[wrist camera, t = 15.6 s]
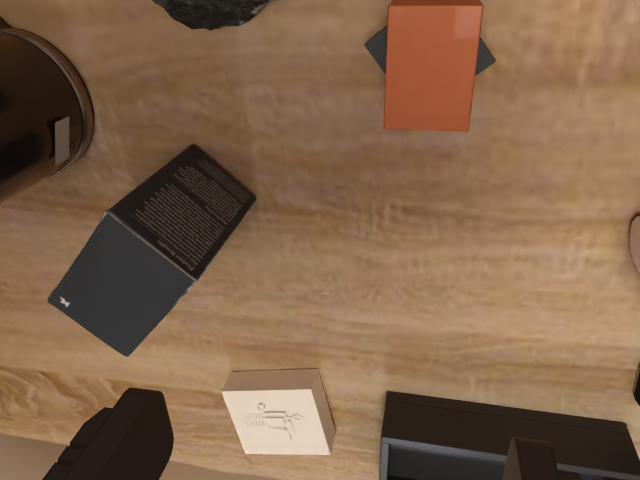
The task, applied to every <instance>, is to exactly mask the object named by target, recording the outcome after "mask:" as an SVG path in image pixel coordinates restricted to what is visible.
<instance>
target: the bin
mask: <svg viewBox="0 0 640 480" xmlns="http://www.w3.org/2000/svg"><path fill="white" fill-rule="evenodd" d="M512 437H517V438H525V439H533V440H541V441H548V442H550V443H551V445H552V448H553V451H554V456H555V460H556V464H557V469H558V470H561V471H568V472H576V473H579V475H580V476H581V478H582V479H583V480H640V460H639V458H638V455H637V452H636V450H635V447H634V444H633V442H632V439H631V437H630V434H629V432H628V429H627V426H626V424H625V423H619V422H612V421H604V420H597V419H589V418H582V417H575V416H567V415H560V414H552V413H545V412H537V411H530V410H522V409H515V408H508V407H500V406H493V405H485V404H478V403H470V402H463V401H456V400H448V399H441V398H433V397H426V396H418V395H411V394H403V393H396V392H389V391H388V392H387V396H386V403H385V411H384V419H383V427H382V435H381V451H380V471H379V480H503V475H504V470H505V465H506V460H507V455H508V450H509V445H510V441H511V438H512Z"/></svg>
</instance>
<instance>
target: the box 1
mask: <svg viewBox="0 0 640 480" xmlns="http://www.w3.org/2000/svg"><path fill="white" fill-rule="evenodd" d="M255 201H256V197H255V196H254V195H253V194H252V193H251V192H250V191H249V190H248V189H247V188H245V187H244V186H243V185H242V184H240V183H239V182H238V181H237V180H236V179H235V178H233V177H232V176H231V175H230V174H229V173H227V172H226V171H225V170H224V169H223V168H222V167H220V166H219V165H218V164H217V163H216V162H215V161H213V160H212V159H211V158H210V157H208V156H207V155H206V154H205V153H204V152H203V151H201V150H200V149H199V148H198V147H197V146H195V145H190V146H189V147H188V148H186V149H185V150H184V151H183V152H181V153H180V154H179V155H178V156H176V157H175V158H174V159H172V161H170V162H169V163H168V164H166V165H165V166H164V167H163V168H161V169H160V170H159V171H157V172H156V173H155V174H154V175H152V176H151V177H150V178H148V179H147V180H146V181H145V182H143V183H142V184H141V185H139V186H138V187H137V188H136V189H134V190H133V191H132V192H130V193H129V194H128V195H127V196H125V197H124V198H123V199H122V200H120V201H119V202H118V203H116V204H115V205H114V206H112V207H111V208H110V209H108V210H107V211H105V212H104V214H103V217H102V218H101V220H100V222H99V224H98V225H97V227H96V228H95V230H94V232H93V233H92V235H91V236H90V238H89V239H88V241H87V242H86V244H85V245H84V247H83V248H82V250H81V252H80V253H79V255H78V256H77V257H76V259H75V260H74V261H73V263H72V264H71V266H70V267H69V269H68V270H67V272H66V273H65V275H64V276H63V277H62V279H61V280H60V282H59V283H58V284H57V286H56V287H55V288H54V290H53V291H52V292H51V293H50V295H49V296H48V301H47V302H48V303H50V304H51V305H53V306H55V307H56V308H58V309H59V310H61V311H62V312H63V313H65V314H66V315H67V316H69V317H70V318H72V319H73V320H74V321H76V322H77V323H78V324H80V325H81V326H82V327H84V328H85V329H86V330H88V331H89V332H91V333H92V334H93V335H95V336H96V337H97V338H99V339H100V340H102V341H103V342H104V343H106V344H107V345H109V346H110V347H112V348H113V349H115V350H116V351H118V352H119V353H121V354H122V355H124V356H126V357H127V356H129V355H130V354H131V353H132V352H133V351H134V350H135V349H136V348H137V346H138V345H139V344H140V343H141V342H142V341H143V340H144V339H145V338H146V336H147V335H148V334H149V333H150V332H151V331H152V330H153V329H154V328H155V327H156V326H157V324H158V323H159V322H160V321H161V320H162V319H163V318H164V317H165V316H166V315H167V314H168V313H169V312H170V310H171V309H172V308H173V307H174V306H175V305H176V304H177V302H178V301H179V300H180V299H181V298H182V297H183V296H184V295H185V294H186V293H187V292H188V290H189V289H190V288H191V287H192V286H193V285H194V284H195V283H196V282H197V281H198V279H199V278H200V277H201V275H202V274H203V272H204V271H205V270H206V268H207V266H208V265H209V264H210V263H211V261H212V259H213V258H214V257H215V255H216V254H217V253H218V251H219V250H220V249H221V247H222V246H223V244H224V243H225V242H226V240H227V239H228V238H229V236H230V235H231V233H232V232H233V231H234V229H235V228H236V227H237V225H238V224H239V223H240V221H241V220H242V218H243V217H244V216H245V214H246V213H247V211H248V210H249V209H250V207H251V206H252V204H253V203H254V202H255Z"/></svg>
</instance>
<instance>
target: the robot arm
mask: <svg viewBox="0 0 640 480" xmlns="http://www.w3.org/2000/svg"><path fill="white" fill-rule="evenodd" d="M92 132H93V114H92V108H91V104H90V100H89V97H88V94H87V92H86V89H85V87H84V85H83V83H82V81H81V79H80V77H79V76H78V74H77V73H76V71H75V70H74V68H73V67H72V66H71V64H70V63H69V62H68V61H67V60H66V58H65V57H64V56H63V55H62V54H61V53H60V52H59V51H57V50H56V49H55V48H54V47H53V46H51V45H50V44H49V43H47V42H46V41H44V40H43V39H41V38H39V37H37V36H35V35H34V34H31V33H29V32H26V31H23V30H19V29H14V28H10V27H9V26H8V25H6V24H5V23H4V22H3V21H2V20H1V18H0V204H1V203H2V202H4V201H6V200H8V199H10V198H11V197H13V196H15V195H17V194H18V193H20V192H22V191H24V190H25V189H27V188H29V187H31V186H32V185H34V184H36V183H37V182H39V181H41V180H43V179H44V178H47V177H49V176H51V175H53V174H55V173H56V172H58V171H61V170H63V169H65V168H67V167H68V166H70V165H72V164H73V163H75V162H76V161H78V160H79V159H80V158H81V157H82V156H83V154H84V153H85V152H86V150H87V148H88V146H89V144H90V141H91V137H92ZM173 441H174V437H173V431H172V427H171V423H170V419H169V415H168V411H167V407H166V402H165V398H164V395H163V393H162V392H160V391H155V390H147V389H139V388H129V389H127V390H126V391H125V392H124V393H123V395H122V396H121V397H120V399H119V400H118V402H117V403H116V404H115V406H114V407H113V408H103V409H102V410H101V411H99V412H98V413H97V414H96V415H94V416H93V417H92V418H90V419H89V420H88V421H87V422H85V423H84V424H83V426H82V427H81V428H80V430H79V431H78V432H77V434H76V435H75V436H74V438H73V439H72V441H71V442H70V446H67V447H66V449H65V450H64V451H63V453H62V454H61V455H60V457H59V458H58V462H57V463H56V462H55V464H54V465H53V466H52V468H51V469H50V470H49V471H48V473H47V474H46V476H45V477H44V478H43V480H159V478H160V476H161V474H162V472H163V471H164V469H165V467H166V465H167V463H168V461H169V459H170V456H171V453H172V449H173ZM503 480H583V479H582V478H581V476H580V475H579V473H576V472H568V471H561V470H558V469H557V464H556V460H555V456H554V451H553V448H552V445H551V443H550V442H548V441H541V440H533V439H525V438H517V437H512V438H511V441H510V445H509V450H508V455H507V460H506V465H505V470H504V475H503Z"/></svg>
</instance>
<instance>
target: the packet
mask: <svg viewBox="0 0 640 480" xmlns="http://www.w3.org/2000/svg"><path fill="white" fill-rule="evenodd" d="M482 13H483V4H482V3H481V2H480V0H394V1H393V2H392V3H391V4H390V5H389V6H388V30H387V56H386V82H385V108H384V128H385V129H410V130H436V131H461V132H468V130H469V122H470V113H471V105H472V97H473V88H474V80H475V71H476V63H477V55H478V46H479V38H480V30H481V21H482Z"/></svg>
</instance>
